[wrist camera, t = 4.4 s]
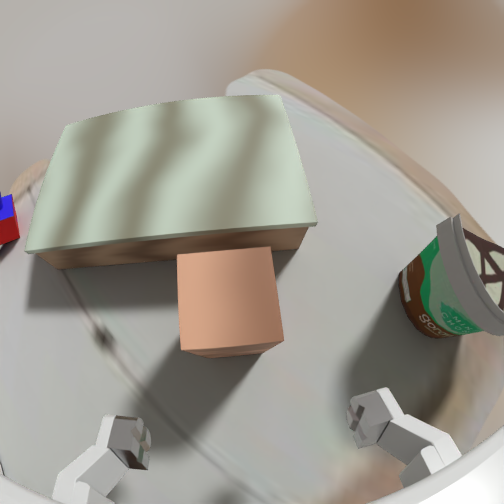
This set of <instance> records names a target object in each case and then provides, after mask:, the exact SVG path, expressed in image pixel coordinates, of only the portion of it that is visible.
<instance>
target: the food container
mask: <svg viewBox="0 0 504 504" xmlns="http://www.w3.org/2000/svg"><path fill="white" fill-rule="evenodd" d="M436 226H437V236H436V237H435V239H434V240H433V241H432V242H431V243H430V244H429V245H428V246H427V247H426V248H425V249H424V250H423V251H422V252H421V253H420V254H419V255H418V256H417V257H416V258H415V259H414V260H413V261H412V262H410V263H409V264H408V265H407V266H406V267H405V268H404V269H403V270H402V271H401V272H400V273H399V289H400V295H401V302H402V304H403V306H404V309H405V311H406V314H407V316H408V318H409V319H410V321H411V322H412V323H413V324H414V326H415V327H416V328H417V329H418V330H419V331H420V332H422V333H423V334H424V335H426V336H429V337H431V338H446V337H452V336H459V335H465V334H470V333H476V332H481V331H485V332H488V333H490V334H492V335H497V336H502V335H504V248H502V247H500V246H498V245H496V244H494V243H491V242H489V241H486V240H484V239H482V238H480V237H478V236H476V235H474V234H473V233H471V232H469V231H467V230H465V229H464V228H462V224H461V218H460V214H458V215H456V216H455V217H454V218H452V217H450V218H448V219H446V220H445V221H443V222H441V223H440V224H438V225H436Z"/></svg>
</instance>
